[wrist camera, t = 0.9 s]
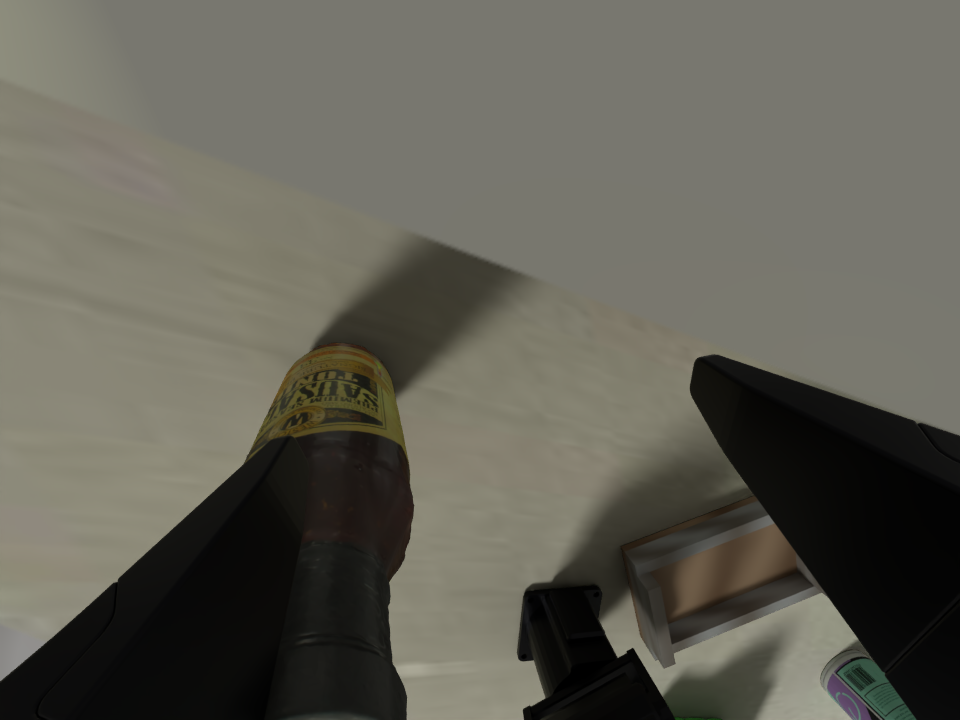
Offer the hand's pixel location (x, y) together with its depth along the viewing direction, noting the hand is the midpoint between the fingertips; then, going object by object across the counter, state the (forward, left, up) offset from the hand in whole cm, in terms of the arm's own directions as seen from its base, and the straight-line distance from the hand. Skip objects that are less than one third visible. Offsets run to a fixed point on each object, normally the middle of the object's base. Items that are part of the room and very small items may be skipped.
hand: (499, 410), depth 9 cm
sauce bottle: (-5, +6, -17) cm, 19 cm away
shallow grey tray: (-20, -24, -17) cm, 36 cm away
